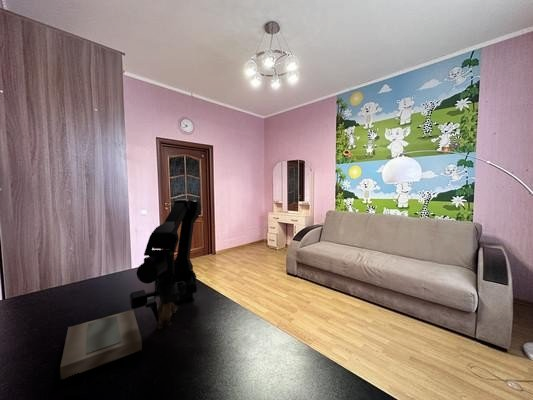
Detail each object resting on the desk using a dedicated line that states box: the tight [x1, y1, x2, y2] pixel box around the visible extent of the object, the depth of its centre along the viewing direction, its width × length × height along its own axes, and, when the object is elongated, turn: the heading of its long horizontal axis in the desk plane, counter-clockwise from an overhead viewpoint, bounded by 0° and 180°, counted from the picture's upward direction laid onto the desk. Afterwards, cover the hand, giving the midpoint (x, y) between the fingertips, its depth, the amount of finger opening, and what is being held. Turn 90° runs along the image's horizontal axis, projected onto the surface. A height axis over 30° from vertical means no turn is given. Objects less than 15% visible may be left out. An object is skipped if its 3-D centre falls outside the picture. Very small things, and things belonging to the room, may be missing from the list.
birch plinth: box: [59, 309, 143, 380], centre depth 63 cm, size 16×18×3 cm
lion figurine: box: [157, 299, 179, 330], centre depth 73 cm, size 15×5×9 cm, turn 35°
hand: (165, 318), depth 72 cm, fingers closed on lion figurine, 4 cm apart
